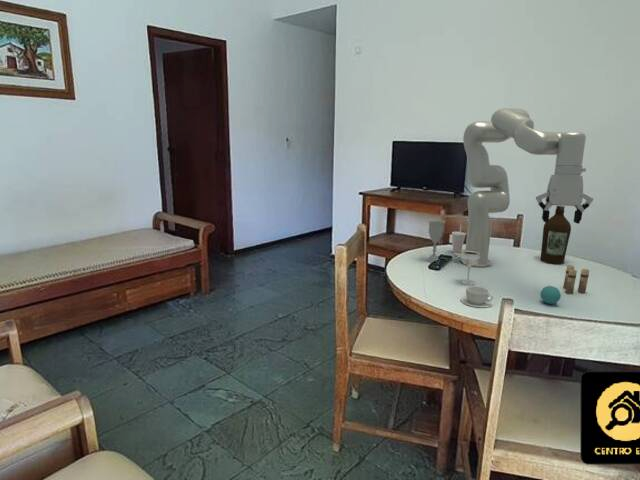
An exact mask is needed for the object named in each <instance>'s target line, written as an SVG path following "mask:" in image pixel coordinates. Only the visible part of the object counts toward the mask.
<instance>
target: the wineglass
mask: <svg viewBox="0 0 640 480" xmlns="http://www.w3.org/2000/svg"><path fill="white" fill-rule="evenodd" d="M461 252H462V255H461V258H460V260H462V262H463V263H464V265H465V264H466V266H467V279H463V280H460V283H461V284H464V285H468V286H473V285H475V281H472V280H469V278H470V271H471V267H473V266H472V265H475V264H477V263H478V262H479V260H480V256H479V254H480V252H478V251H475V250H465V249H462V251H461ZM463 263H462V264H463Z"/></svg>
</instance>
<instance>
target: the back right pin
mask: <svg viewBox="0 0 640 480" xmlns="http://www.w3.org/2000/svg"><path fill="white" fill-rule="evenodd" d="M589 276H590V269H586V268H582V269H581V270H580V276H579V280H578V281H579V282H578V288H577V293H579V294H586V293H587V286H588V281H589Z"/></svg>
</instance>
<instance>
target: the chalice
mask: <svg viewBox="0 0 640 480" xmlns="http://www.w3.org/2000/svg"><path fill="white" fill-rule="evenodd" d="M428 223H429V225H428V234H429V238H430V240H431V242H433V245H432V248H433V249H432V255H430V256H429V257H428V259H427V262H428V263H432V262H434V261H437V260H439V261H440V259H439V257H438V255H436V252H437V243H438V242H440V240H441V238H442V236H443V235H444V231H445V229H444V228H445V224H446V221H445V220H443V219H428Z"/></svg>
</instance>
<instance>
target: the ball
mask: <svg viewBox="0 0 640 480" xmlns="http://www.w3.org/2000/svg"><path fill="white" fill-rule="evenodd" d="M539 294H540V299H541V300H542V301H543V302H544V303H545V304H549V305H553V304H556V303H558V302H559V301H560V300H561V296H562V295H561V292H560V289H558V288H557V287H556V286H553V285H547V286H544V287H543V288H542V289H541V290H540V293H539Z"/></svg>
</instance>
